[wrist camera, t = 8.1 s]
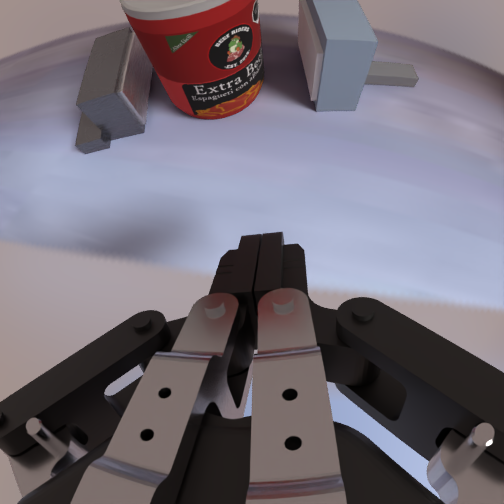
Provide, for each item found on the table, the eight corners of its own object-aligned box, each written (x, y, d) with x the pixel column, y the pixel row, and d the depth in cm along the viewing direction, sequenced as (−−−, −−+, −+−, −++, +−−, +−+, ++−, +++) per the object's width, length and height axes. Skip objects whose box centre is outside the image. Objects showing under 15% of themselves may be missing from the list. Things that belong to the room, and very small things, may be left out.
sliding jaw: (398, 52, 22) (421, -8, 15) (424, 113, 21) (461, 54, 13) (296, 48, 23) (298, -20, 15) (310, 111, 21) (319, 39, 14)
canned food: (204, 141, 22) (153, 30, 11) (153, 84, 23) (99, -10, 12) (286, 86, 22) (285, -31, 11) (226, 39, 23) (203, -61, 13)
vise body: (156, 62, 24) (135, 20, 18) (148, 139, 22) (117, 99, 17) (100, 78, 24) (73, 42, 19) (85, 154, 23) (47, 122, 17)
